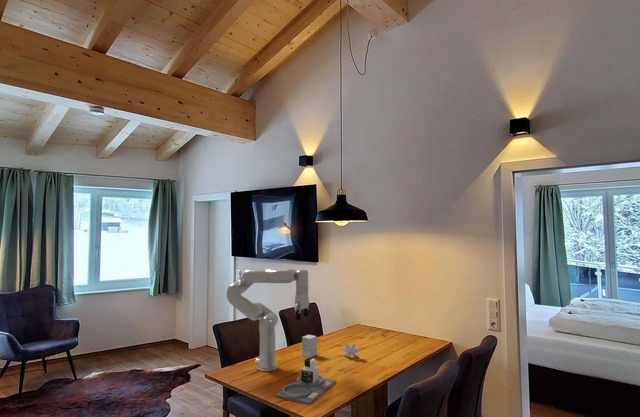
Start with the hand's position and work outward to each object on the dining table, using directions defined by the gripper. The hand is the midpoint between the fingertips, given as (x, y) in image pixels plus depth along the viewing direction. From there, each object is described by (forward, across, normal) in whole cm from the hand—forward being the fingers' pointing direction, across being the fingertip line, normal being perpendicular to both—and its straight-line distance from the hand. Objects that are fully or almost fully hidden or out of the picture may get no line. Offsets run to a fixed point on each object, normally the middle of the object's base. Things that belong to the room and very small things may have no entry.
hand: (302, 318), depth 230 cm
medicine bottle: (+30, +17, +15) cm, 37 cm away
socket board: (+30, +25, +17) cm, 43 cm away
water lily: (+31, -32, +19) cm, 48 cm away
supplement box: (+31, -24, -8) cm, 40 cm away
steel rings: (+29, +25, +15) cm, 41 cm away
